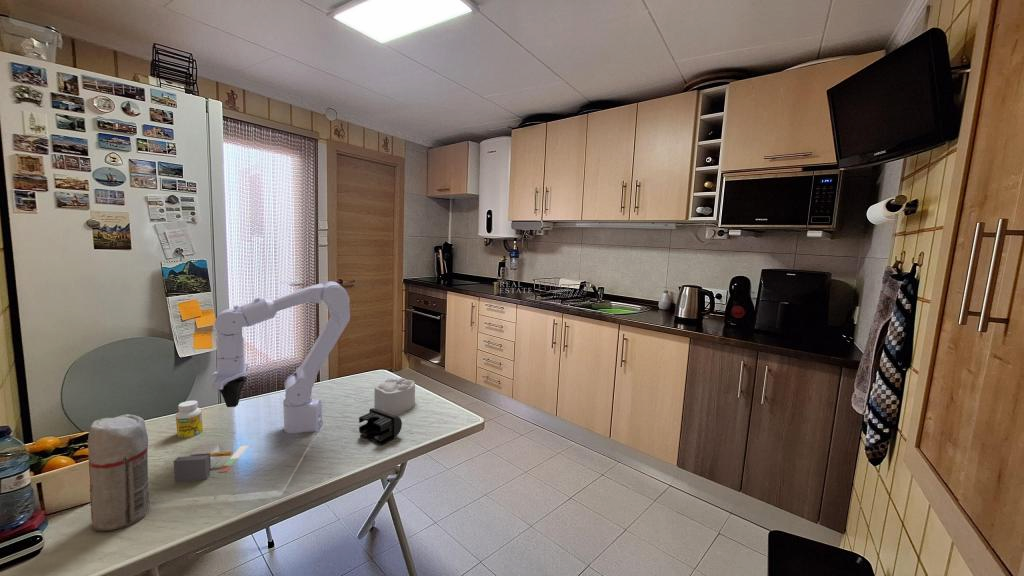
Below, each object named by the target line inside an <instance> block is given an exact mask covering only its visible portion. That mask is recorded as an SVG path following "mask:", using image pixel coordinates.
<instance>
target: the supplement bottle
mask: <svg viewBox="0 0 1024 576" xmlns="http://www.w3.org/2000/svg"><path fill="white" fill-rule="evenodd" d="M198 406H199V404H198V401H197V400H186V401H183V402H180V403H179V404H178V412H177V413H176V415H175V421H176V422H175V423H176V433H177V438H180V439H187V438H188V439H189V438H192V437H195V436H196V437H197V436H198V435H200V434H202V433H203V432H204V431H203V430H204V429H203V427H204V426H203V413H202V409H201V408H200V407H198Z"/></svg>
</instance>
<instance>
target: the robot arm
mask: <svg viewBox="0 0 1024 576" xmlns="http://www.w3.org/2000/svg"><path fill="white" fill-rule="evenodd" d="M322 301H323V303H324V304H325V305H326V306H327V309H328V312H329V315H330V317H329V319H328V320H327V322H326V324H325V326H324V327H323V328H322V330H321V332H320V334H319V335H318V337H317V339H316V340H315V341H314V343H313V346H311V349H310V350H309V352H307V355H306V356H305V358H304V360H303V361H302V363H301V365H299V366H298V367H297V368H296V370H295V371H294V372H293V373H292V374H290V375H289V376H288V377H287V378H286V379H285V381H284V390H285V394H284V397H285V398H284V399H283V401H282V403H283V404H282V405H283V428H284V429H283V430H284V432H285V433H288V434H300V433H306V432H309V433H310V432H315V433H314V435H313V436H314V437H315V436H317V434H318V432H319V430H320V428H321V427H322V425H323V423H324V422H323V405H322V400H321V399H316V398H313V396H312V389H313V387H314V385H315V384H316V380H317V376H318V374H319V372H320V370H321V368H322V367H323V365H324V364H325V362H326V360H327V358H328V356H329V355H330V353H331V352H332V350H333V349H334V347H335V345H336V344H337V342H338V340H339V338H340V337H341V335H342V333H343V332H344V330H345V329H346V327H347V325H348V323H350V319H351V310H350V309H351V307H350V301H351V298H350V296H349V294H348V292H347V290H346V289H345V288H344V287H343V286H342V285H340V284H339V282H336V281H330V280H329V281H326V282H324V283H317V284H313V285H310V286H307V287H304V288H302V289H299V290H296V291H294V292H291V293H288V294H286V295H283V296H281V297H278V298H275V299H270V298H268V297H264V298H261V297H259V296H258V297H255V298H254V299H253V301H251V302H249V303H245V304H241V305H240V306H239V305H238V304H236V305H233V307H232V308H233V309H232V308H227V309H223V310H222V311H220V313H218V315H217V317H216V318H215V320H214V327H215V330H216V338H217V339H216V345H215V346H216V365H217V366H216V368H217V369H216V371H214V372H212V374H211V375H212V377H215V378H214V380H213V381H212V382H211V390H212V391H219V392H220V394H221V395H222V398H223V401H224V404H225V406H226V408H236V407H237V406H239V402H240V398H241V394H242V391H243V389H244V386H245V384H246V382H247V379H248V378H247V376H246V372H248V371H249V364H248V363H245V342H244V341H245V340H244V335H243V328H244V327H246V328H248V327H251V326H254V325H257V324H260V323H263V322H267V321H268V320H271V319H274V318H275V317H276V315H277V313H278V312H279V311H282V310H283V311H284V310H286V309H290V308H292V307H296V306H298V305H302V304H305V303H314V304H319V305H320V304H322Z"/></svg>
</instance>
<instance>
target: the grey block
mask: <svg viewBox="0 0 1024 576" xmlns="http://www.w3.org/2000/svg"><path fill="white" fill-rule="evenodd" d="M205 455H209V466H210V470H212V469H213V468H214V467H215V466H216V465H217V464H218V462H219V461H221V457H228V456H230V457H232V456H233V455H234V453H233V451H221V450H220V444H203V445H202V444H201V445H199V446H198V447H196V448H195V450H194V451H193V452H191V453H190V454H189V457H190V456H205Z"/></svg>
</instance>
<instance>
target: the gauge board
mask: <svg viewBox="0 0 1024 576" xmlns="http://www.w3.org/2000/svg"><path fill="white" fill-rule="evenodd" d="M249 447H250V445H241V446H240V447H239V448H237V449H236V451H235V452H234V453H233V454H232V455H231V456H230V458H229V459H228V460H227V461H226V462H225V463H224V465H223V466H222V467H221V468H220V469H219V470H218V471H217V473H219V474H220V473H227V472H229V470H230V469H231V468H232V466H234V464H235V463H236V462H237V461H238V460H239V459H240V457H241V456H242V455H243V453H245V451H246V450H247V449H248V448H249ZM173 472H174V482H175V483H179V482H183V483H184V482H192V481H193V482H196V481H197V482H198V481H206V480H208V479H209V477H211V471H210V466H209V455H205V456H190V455H189V456H179V457H178V456H177V458H175V459H174V460H173Z"/></svg>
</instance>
